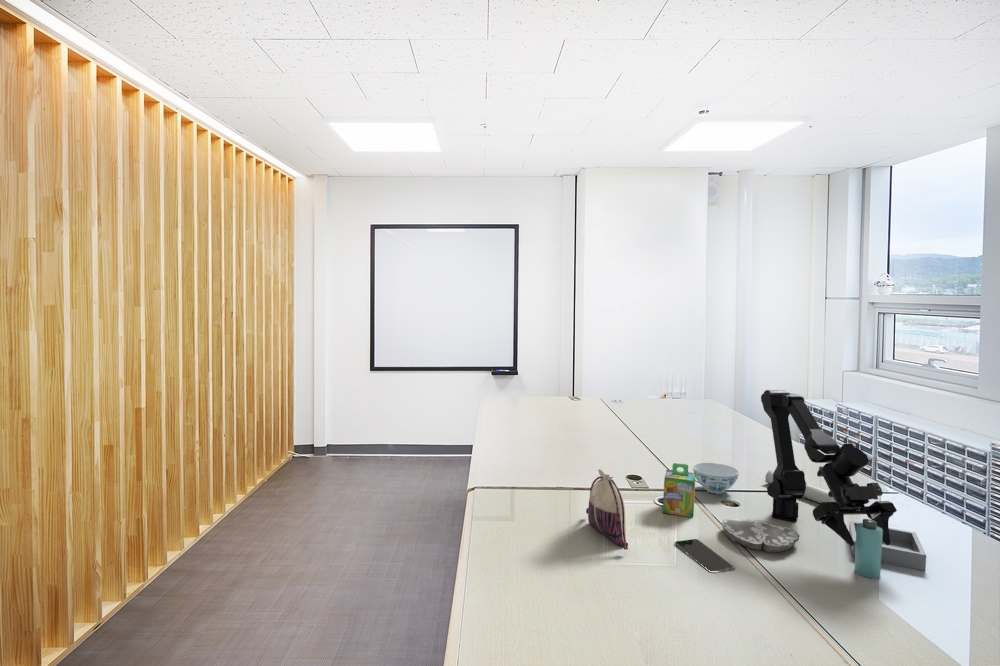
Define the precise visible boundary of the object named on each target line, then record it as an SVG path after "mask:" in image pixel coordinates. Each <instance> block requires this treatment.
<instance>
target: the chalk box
mask: <svg viewBox="0 0 1000 666" xmlns="http://www.w3.org/2000/svg"><path fill="white" fill-rule="evenodd" d="M678 468H682V469H683V471H682V470H678ZM663 479H664V480H663V481H664V483H663V497H662V498H663V503H662V505H663V506H662V513H663V514H668V513H669V514H670V515H677V516H681V517H687V518H693V517H694V514H695V513H694V510H695V499H696V498H695V496H696V495H695V494H696V493H695V492H696V475H695V473H694V472H691V471H689V465H688V463H687V464H686V463H675V462H674V463H672V469H666V471H665V475H664V478H663ZM669 514H668V515H669Z"/></svg>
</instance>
